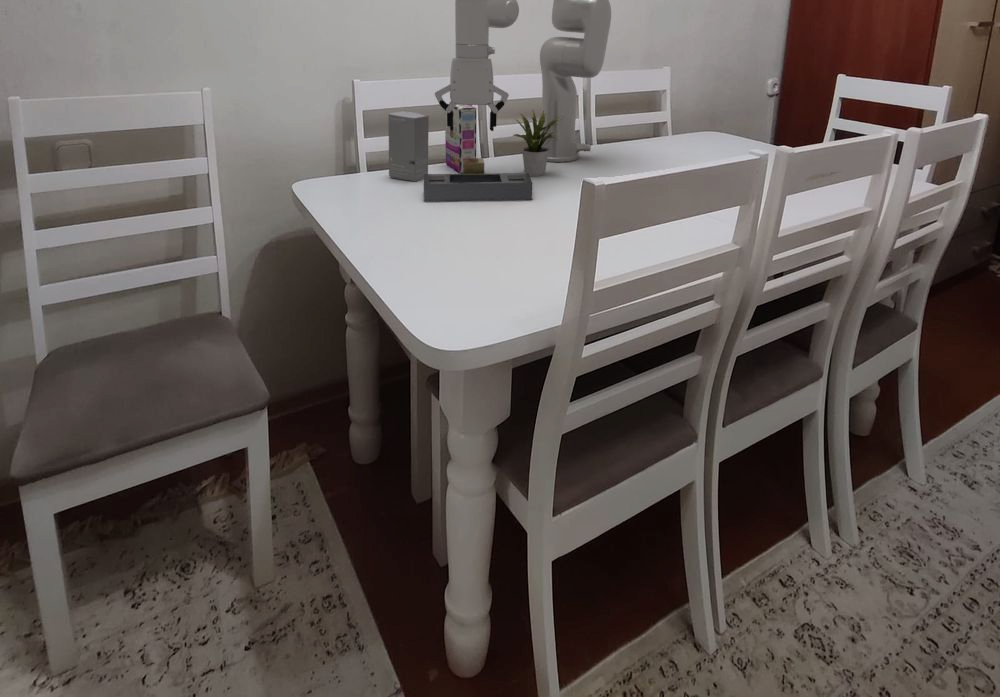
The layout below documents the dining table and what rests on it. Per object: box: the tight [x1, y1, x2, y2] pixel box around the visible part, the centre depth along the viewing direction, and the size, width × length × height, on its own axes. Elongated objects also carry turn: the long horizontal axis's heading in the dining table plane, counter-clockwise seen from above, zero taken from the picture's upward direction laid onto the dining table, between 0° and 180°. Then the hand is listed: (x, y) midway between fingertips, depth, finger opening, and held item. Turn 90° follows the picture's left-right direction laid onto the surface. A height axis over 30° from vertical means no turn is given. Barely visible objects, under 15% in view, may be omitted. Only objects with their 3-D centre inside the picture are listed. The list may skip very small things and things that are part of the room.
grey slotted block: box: [423, 172, 533, 202], centre depth 167 cm, size 25×9×4 cm, turn 94°
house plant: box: [512, 108, 564, 177], centre depth 182 cm, size 14×14×16 cm
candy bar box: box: [444, 102, 477, 174], centre depth 187 cm, size 11×5×16 cm, turn 25°
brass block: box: [462, 157, 485, 174], centre depth 175 cm, size 5×5×6 cm
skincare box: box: [388, 110, 430, 182], centre depth 179 cm, size 8×7×16 cm
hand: (471, 129), depth 170 cm, fingers open, 9 cm apart
